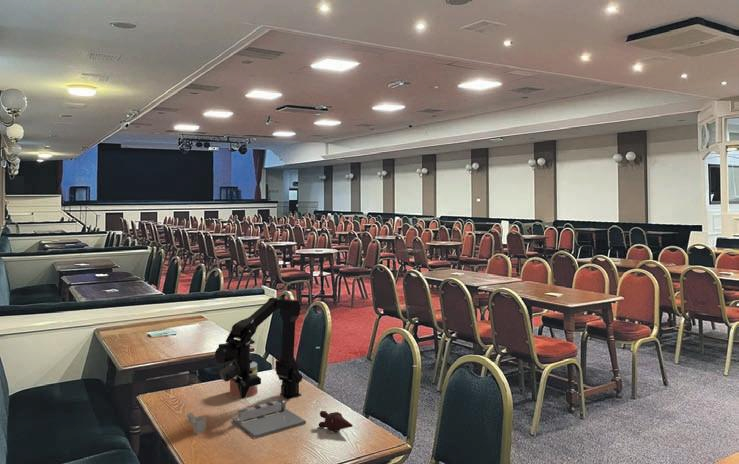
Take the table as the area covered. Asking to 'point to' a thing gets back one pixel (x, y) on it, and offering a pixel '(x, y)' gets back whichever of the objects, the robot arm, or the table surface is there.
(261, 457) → the table surface
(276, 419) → the equipment panel
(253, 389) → the canned food
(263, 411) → the cable arm
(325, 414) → the icecream
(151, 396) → the table surface
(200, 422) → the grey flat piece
